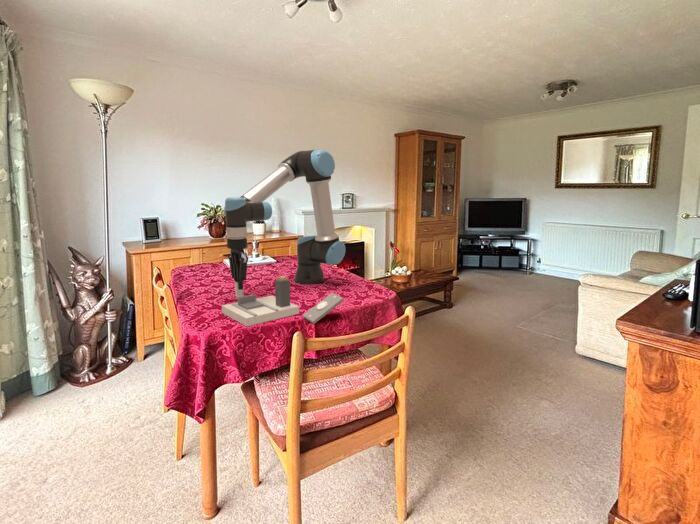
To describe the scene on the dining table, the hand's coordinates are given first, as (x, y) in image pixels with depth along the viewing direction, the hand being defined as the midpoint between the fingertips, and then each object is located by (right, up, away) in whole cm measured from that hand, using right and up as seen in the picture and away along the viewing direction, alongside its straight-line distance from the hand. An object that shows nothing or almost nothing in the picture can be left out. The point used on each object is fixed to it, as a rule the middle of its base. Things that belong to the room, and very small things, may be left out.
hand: (239, 296), depth 161 cm
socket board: (+9, -6, -5) cm, 12 cm away
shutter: (+6, -3, -6) cm, 9 cm away
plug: (+18, -3, -5) cm, 19 cm away
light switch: (+34, -7, -10) cm, 36 cm away
